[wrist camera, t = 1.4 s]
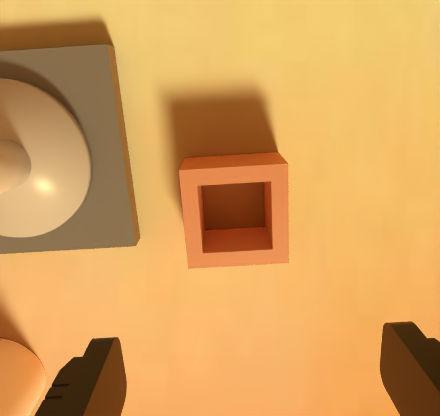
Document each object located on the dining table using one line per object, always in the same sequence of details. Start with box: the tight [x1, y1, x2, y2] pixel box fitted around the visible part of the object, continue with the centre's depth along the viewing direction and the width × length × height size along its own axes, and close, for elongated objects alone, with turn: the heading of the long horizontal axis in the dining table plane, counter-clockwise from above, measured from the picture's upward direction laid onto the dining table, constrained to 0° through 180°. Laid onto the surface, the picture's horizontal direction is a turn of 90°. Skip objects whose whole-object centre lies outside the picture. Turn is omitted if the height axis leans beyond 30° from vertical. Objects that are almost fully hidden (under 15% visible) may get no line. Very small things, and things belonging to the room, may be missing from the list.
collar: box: [179, 152, 289, 269], centre depth 25 cm, size 6×6×4 cm
